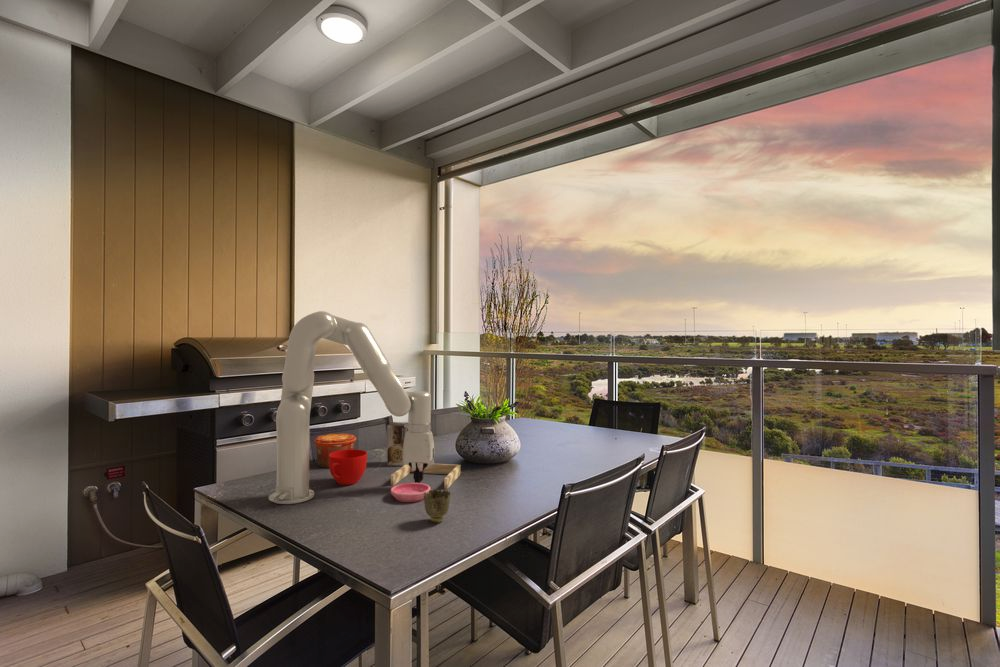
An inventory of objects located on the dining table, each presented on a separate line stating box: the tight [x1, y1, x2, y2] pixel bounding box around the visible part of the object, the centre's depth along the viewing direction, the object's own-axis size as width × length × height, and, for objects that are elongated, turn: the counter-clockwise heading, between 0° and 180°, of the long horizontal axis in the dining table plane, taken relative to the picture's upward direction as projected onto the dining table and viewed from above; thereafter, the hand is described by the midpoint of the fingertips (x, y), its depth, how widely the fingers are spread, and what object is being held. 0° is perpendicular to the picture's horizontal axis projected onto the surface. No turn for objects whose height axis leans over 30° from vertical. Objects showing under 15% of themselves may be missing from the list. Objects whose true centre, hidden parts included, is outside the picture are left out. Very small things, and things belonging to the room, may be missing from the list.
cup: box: [423, 488, 451, 524], centre depth 142 cm, size 8×7×8 cm
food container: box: [313, 433, 357, 469], centre depth 201 cm, size 16×16×11 cm
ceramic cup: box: [329, 448, 368, 486], centre depth 176 cm, size 13×17×10 cm
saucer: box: [390, 482, 431, 503], centre depth 162 cm, size 12×12×3 cm
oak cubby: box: [390, 462, 461, 490], centre depth 181 cm, size 18×20×4 cm
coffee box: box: [386, 421, 408, 467], centre depth 203 cm, size 9×6×16 cm
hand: (418, 481), depth 173 cm, fingers closed
